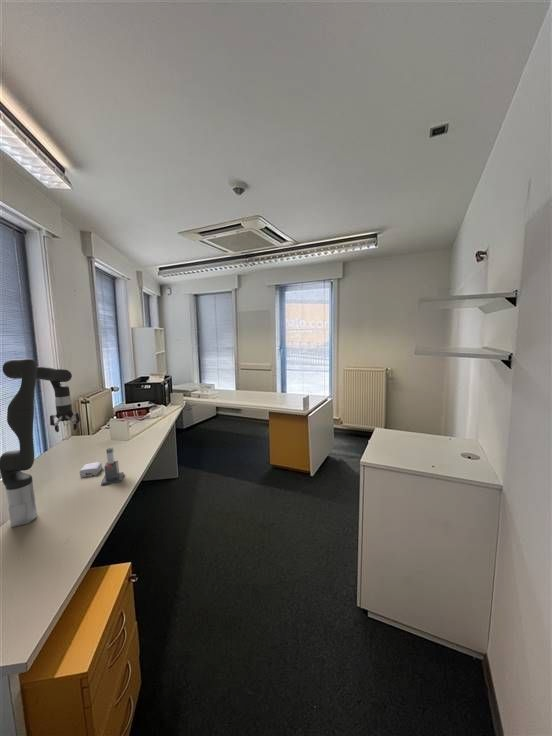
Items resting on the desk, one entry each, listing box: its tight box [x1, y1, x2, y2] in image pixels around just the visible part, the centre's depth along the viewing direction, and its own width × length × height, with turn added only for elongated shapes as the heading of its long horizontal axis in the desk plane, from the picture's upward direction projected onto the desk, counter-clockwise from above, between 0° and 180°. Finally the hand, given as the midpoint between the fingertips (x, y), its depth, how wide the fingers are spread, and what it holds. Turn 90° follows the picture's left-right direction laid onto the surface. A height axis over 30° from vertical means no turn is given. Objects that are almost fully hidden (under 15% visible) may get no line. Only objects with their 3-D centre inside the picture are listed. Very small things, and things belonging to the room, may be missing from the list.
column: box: [106, 447, 116, 465], centre depth 167 cm, size 3×3×17 cm
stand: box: [100, 460, 125, 486], centre depth 167 cm, size 10×10×10 cm
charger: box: [79, 461, 103, 478], centre depth 180 cm, size 5×9×15 cm
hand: (66, 430), depth 169 cm, fingers open, 8 cm apart
